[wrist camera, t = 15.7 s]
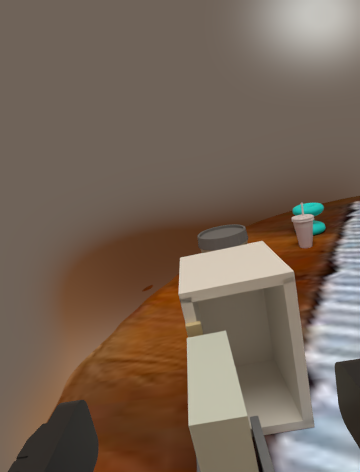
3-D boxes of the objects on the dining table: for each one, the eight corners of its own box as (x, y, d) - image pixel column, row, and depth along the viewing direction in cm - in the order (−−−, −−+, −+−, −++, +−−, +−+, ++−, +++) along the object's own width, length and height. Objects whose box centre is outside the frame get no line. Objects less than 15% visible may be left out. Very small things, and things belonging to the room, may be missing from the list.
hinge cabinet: (280, 359, 45) (262, 240, 40) (384, 566, 22) (368, 343, 17) (196, 374, 46) (168, 260, 41) (208, 589, 23) (148, 382, 18)
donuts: (288, 209, 100) (297, 203, 107) (291, 236, 102) (300, 228, 109) (318, 207, 93) (326, 200, 100) (321, 236, 95) (328, 227, 103)
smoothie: (320, 243, 90) (316, 200, 86) (311, 250, 86) (306, 205, 82) (301, 242, 94) (296, 201, 91) (291, 248, 91) (285, 206, 87)
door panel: (251, 452, 32) (225, 330, 28) (279, 576, 22) (247, 416, 19) (216, 458, 32) (186, 337, 29) (230, 583, 23) (188, 425, 19)
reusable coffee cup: (216, 276, 83) (206, 227, 79) (259, 275, 77) (251, 222, 73) (201, 297, 72) (188, 241, 68) (250, 297, 66) (239, 236, 63)
